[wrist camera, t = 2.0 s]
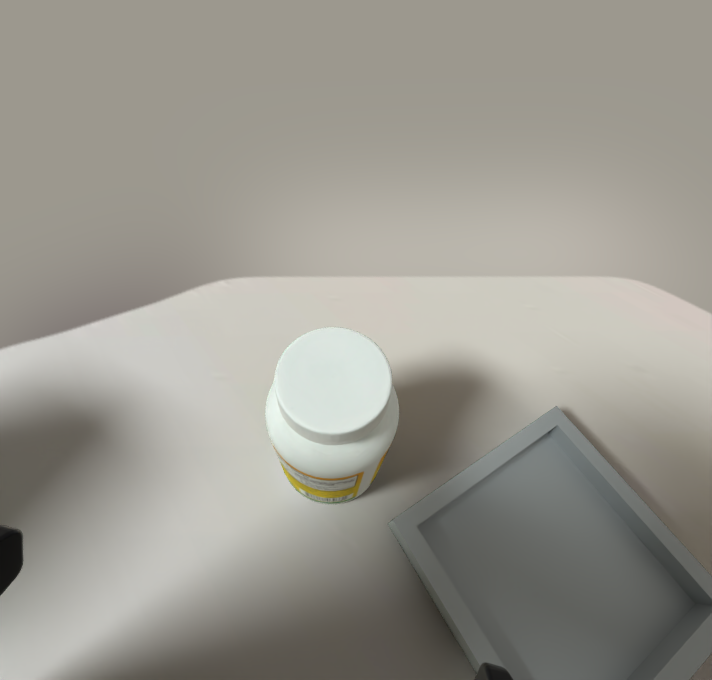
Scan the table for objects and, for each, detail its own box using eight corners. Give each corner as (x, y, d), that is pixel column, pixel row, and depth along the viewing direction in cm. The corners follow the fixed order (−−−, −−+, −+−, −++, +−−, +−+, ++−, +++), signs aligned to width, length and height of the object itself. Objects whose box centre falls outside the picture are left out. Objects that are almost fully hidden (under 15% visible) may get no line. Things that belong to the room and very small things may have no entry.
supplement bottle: (318, 528, 19) (307, 496, 11) (264, 441, 21) (221, 358, 13) (401, 464, 21) (445, 394, 13) (344, 389, 23) (350, 288, 15)
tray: (547, 793, 15) (572, 818, 13) (387, 524, 19) (392, 519, 18) (710, 609, 18) (745, 613, 17) (541, 416, 23) (556, 405, 21)
